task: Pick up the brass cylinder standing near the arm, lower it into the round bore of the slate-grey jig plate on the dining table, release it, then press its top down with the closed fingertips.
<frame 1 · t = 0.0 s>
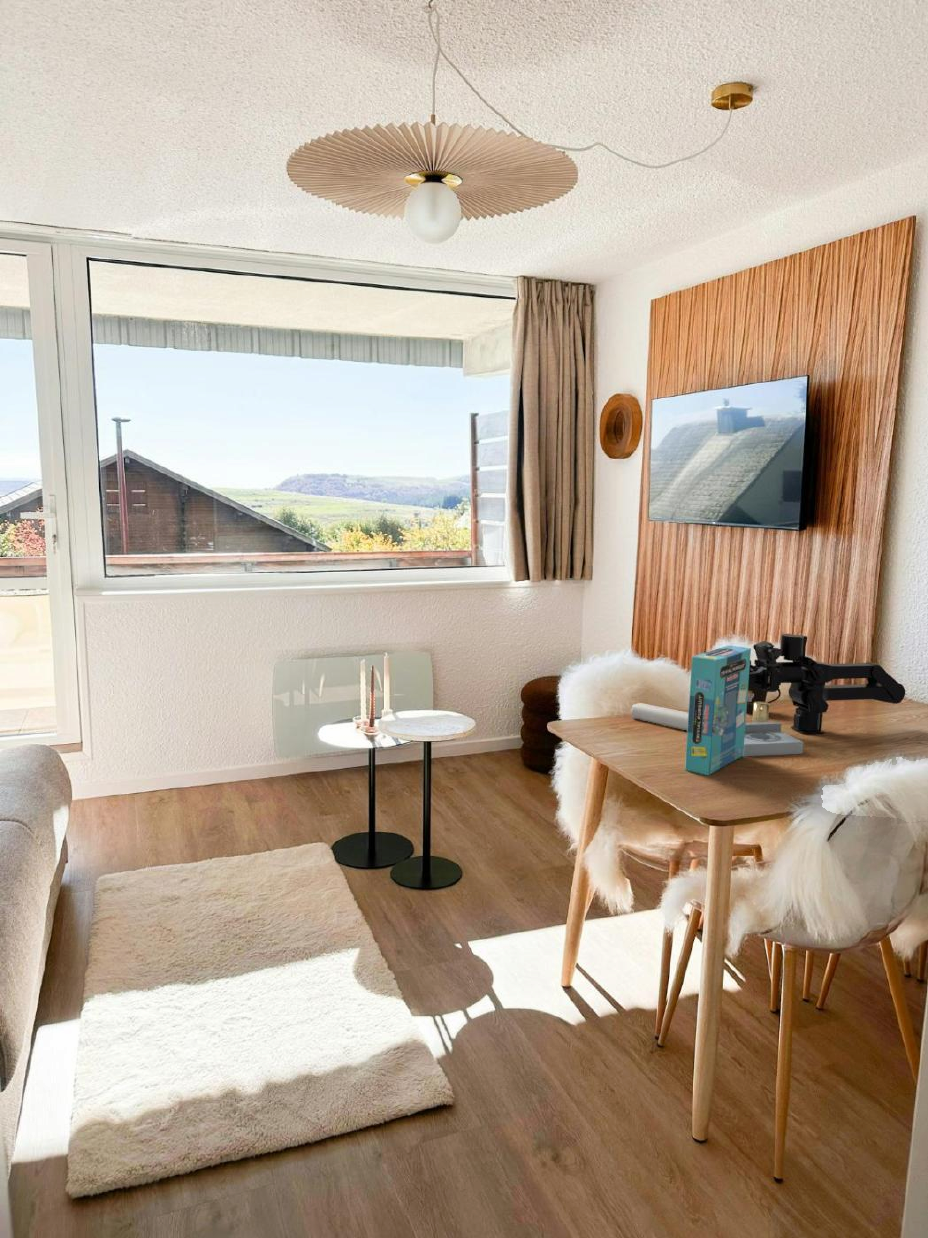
hand: (727, 674, 230), 17 cm above the table, tool horizontal, fingers open, 9 cm apart
jig: (760, 748, 221), on the table
brass cylinder: (759, 732, 236), on the table
tube: (670, 727, 240), on the table
game box: (714, 764, 207), on the table
coffee mug: (755, 713, 256), on the table
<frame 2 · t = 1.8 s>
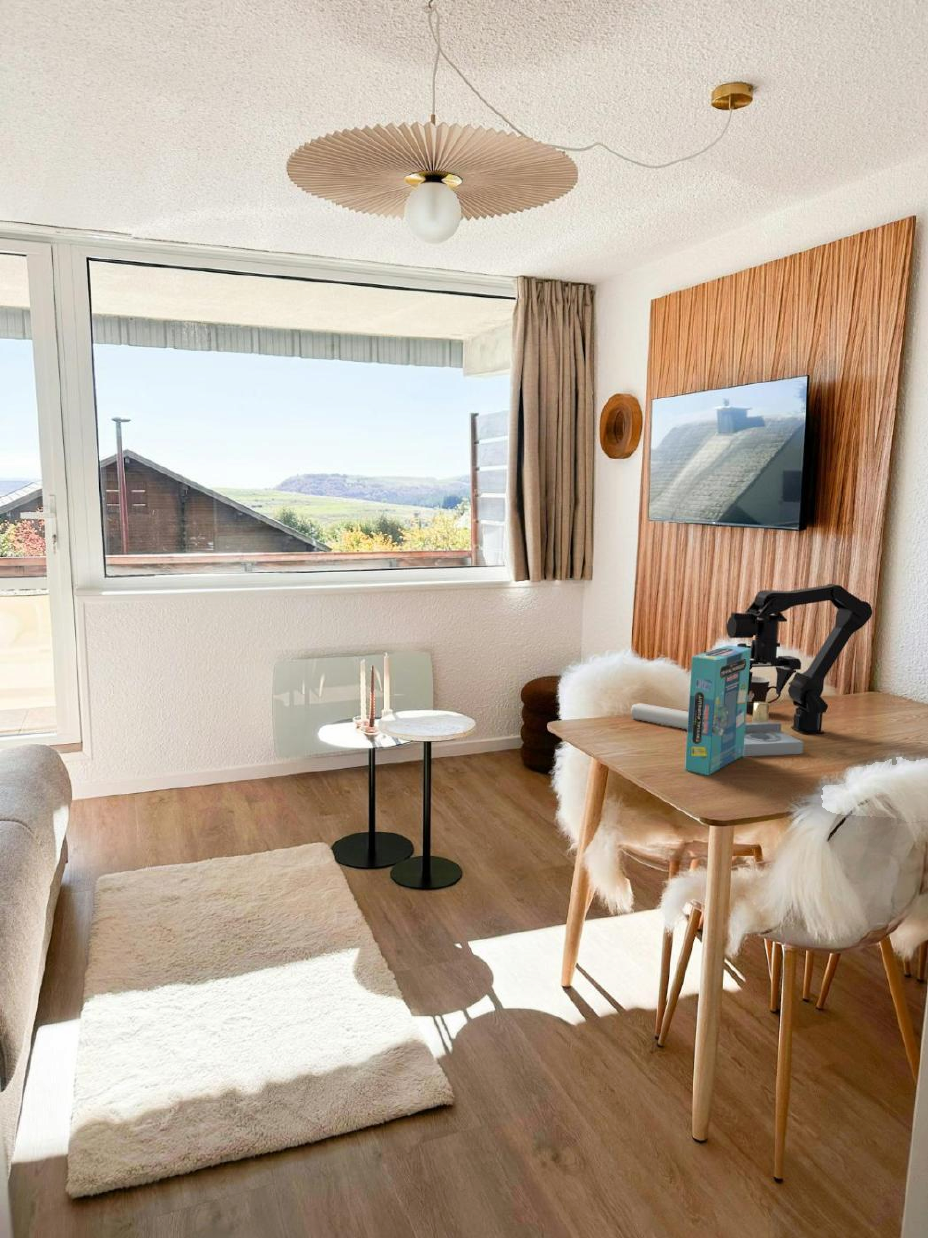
hand: (762, 694, 234), 10 cm above the table, tool pointing down, fingers open, 9 cm apart
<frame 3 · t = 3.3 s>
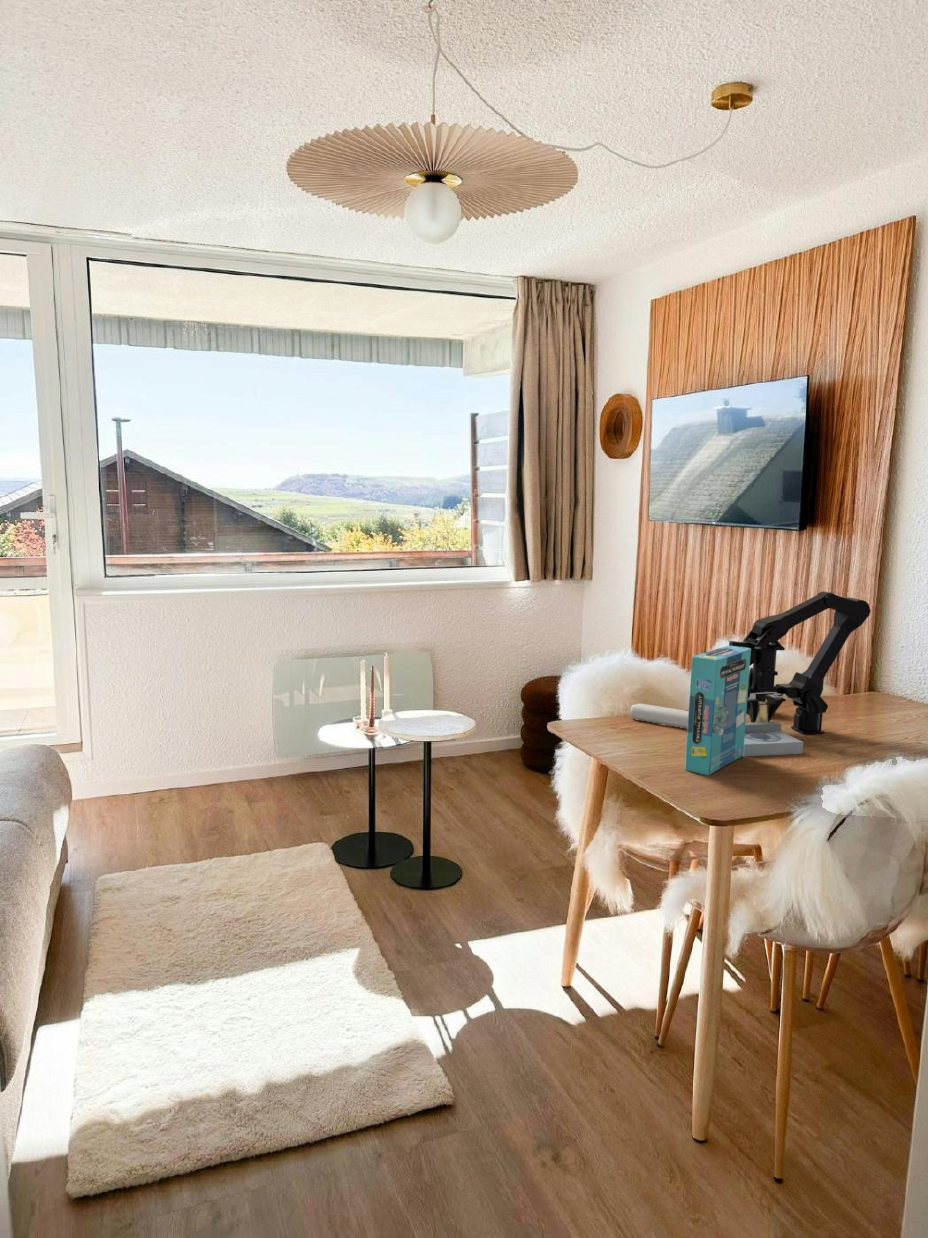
hand: (760, 722, 235), 3 cm above the table, tool pointing down, fingers closed on brass cylinder, 4 cm apart
brass cylinder: (759, 732, 236), on the table, touching gripper
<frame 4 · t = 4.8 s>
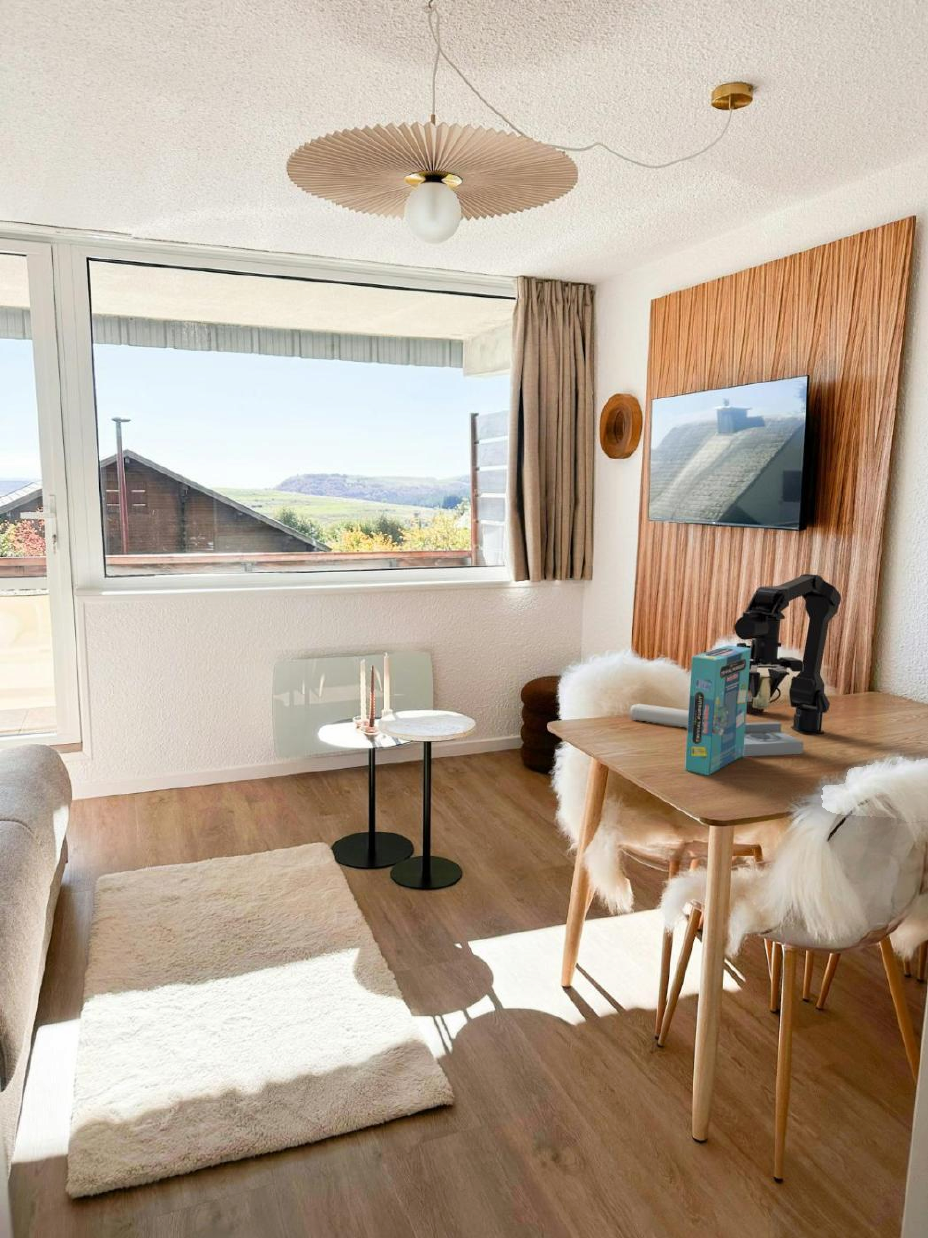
hand: (761, 697, 222), 13 cm above the table, tool pointing down, fingers closed on brass cylinder, 4 cm apart
brass cylinder: (760, 707, 222), point 10 cm above the table, touching gripper
when the fingers open (4 cm above the table, at t = 6.6 s): brass cylinder drops 1 cm, resting in jig.
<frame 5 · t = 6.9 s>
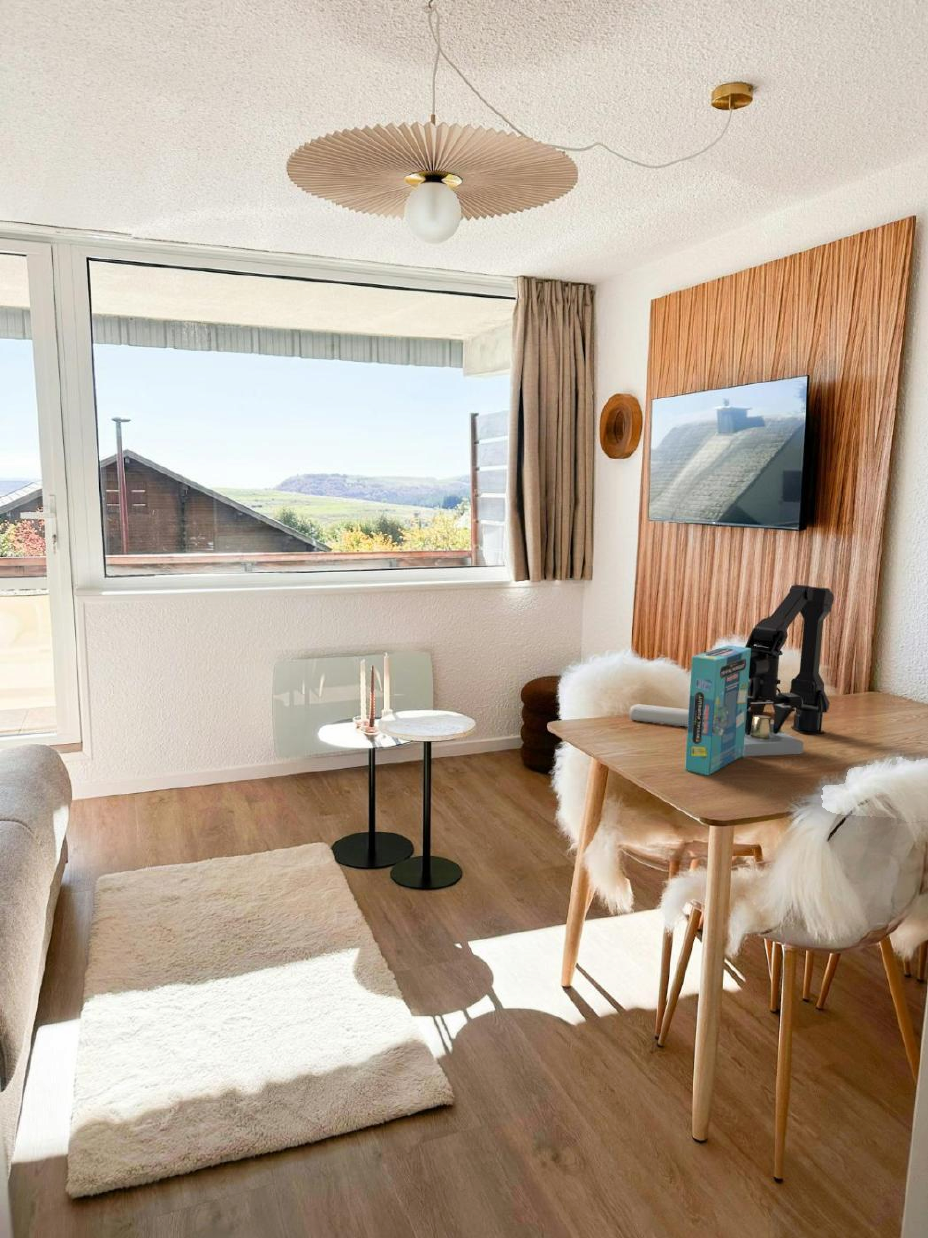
hand: (761, 734, 220), 4 cm above the table, tool pointing down, fingers open, 7 cm apart
brass cylinder: (760, 748, 221), resting in jig
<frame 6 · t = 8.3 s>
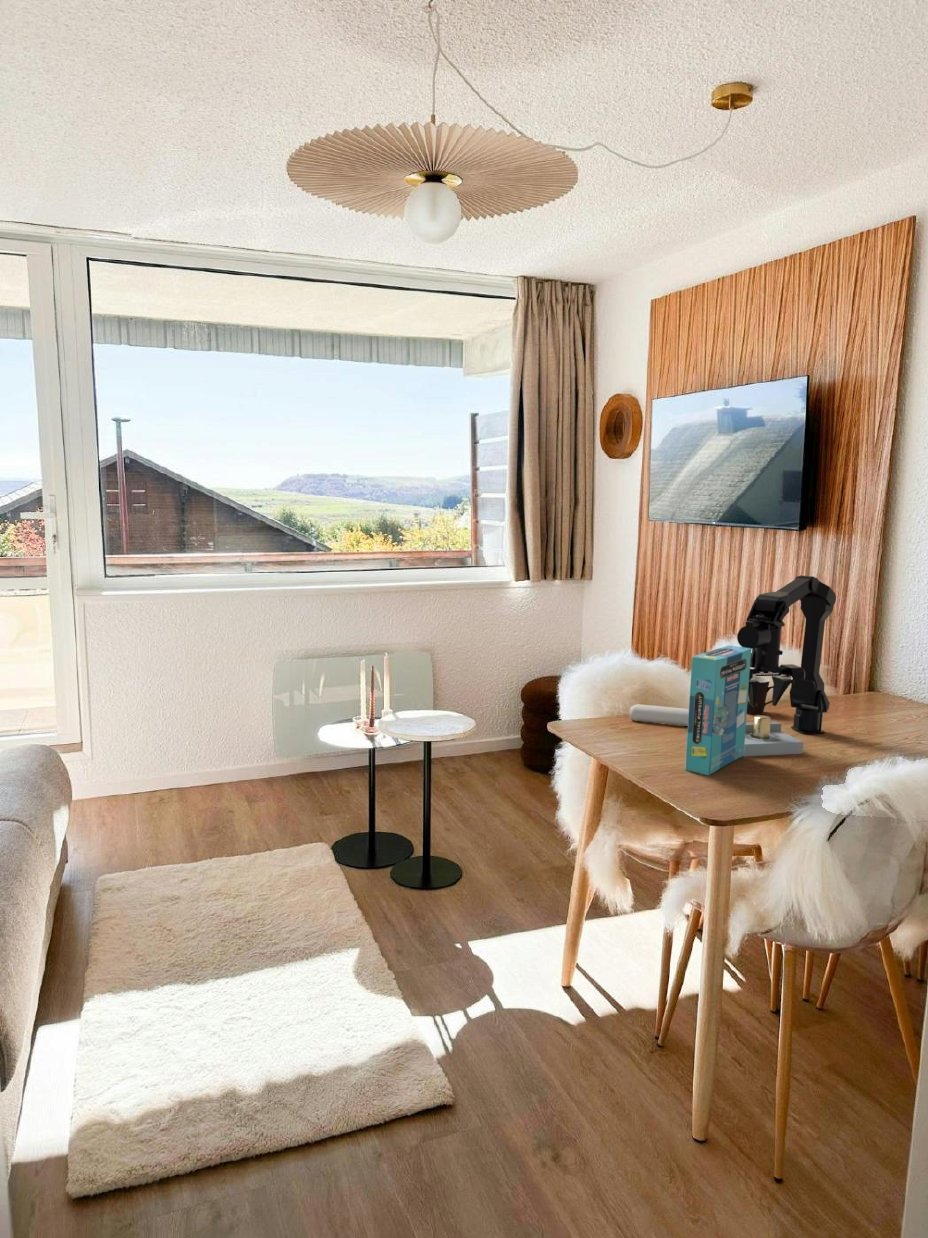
hand: (763, 705, 219), 11 cm above the table, tool pointing down, fingers open, 6 cm apart
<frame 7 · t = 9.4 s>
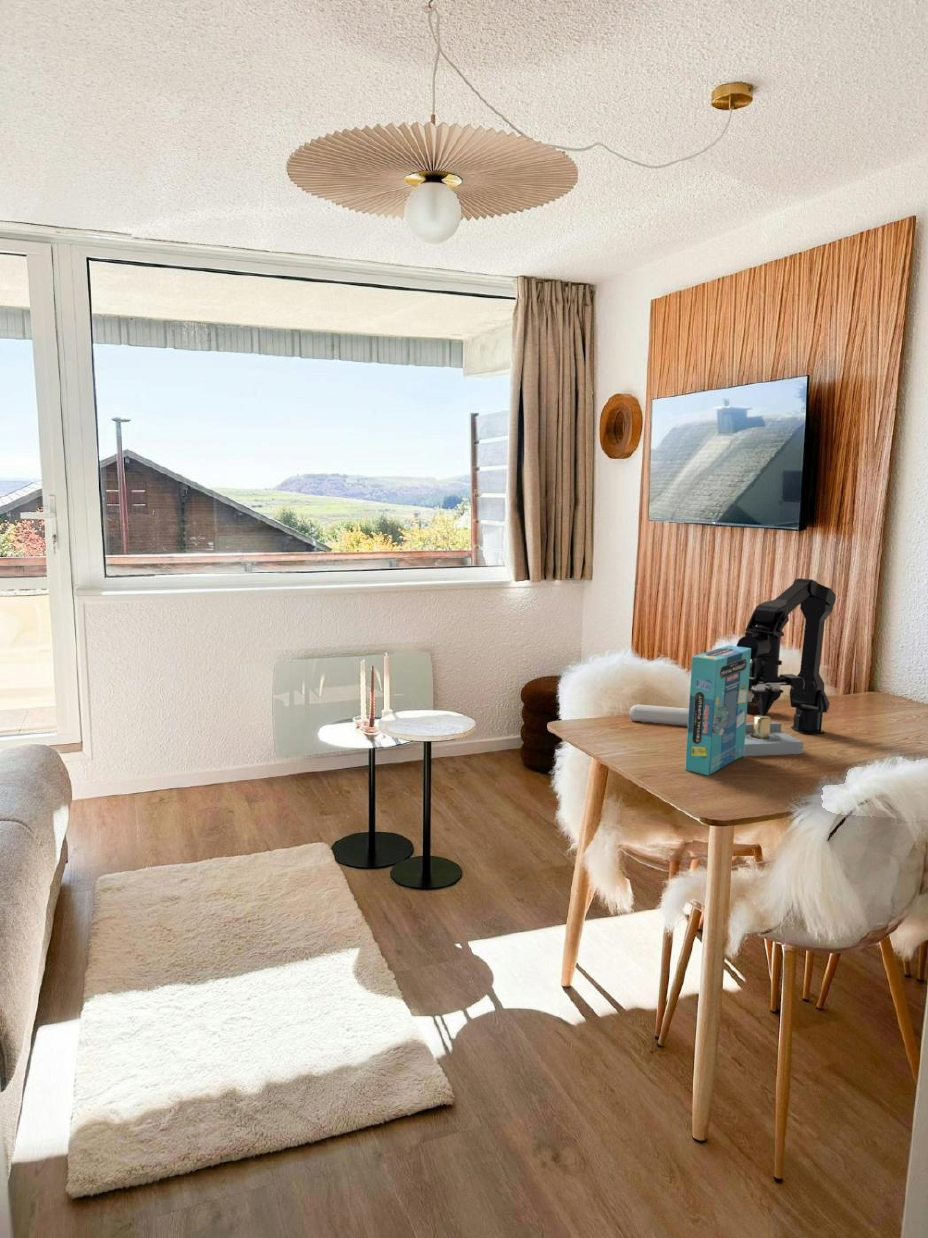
hand: (762, 715, 219), 8 cm above the table, tool pointing down, fingers closed
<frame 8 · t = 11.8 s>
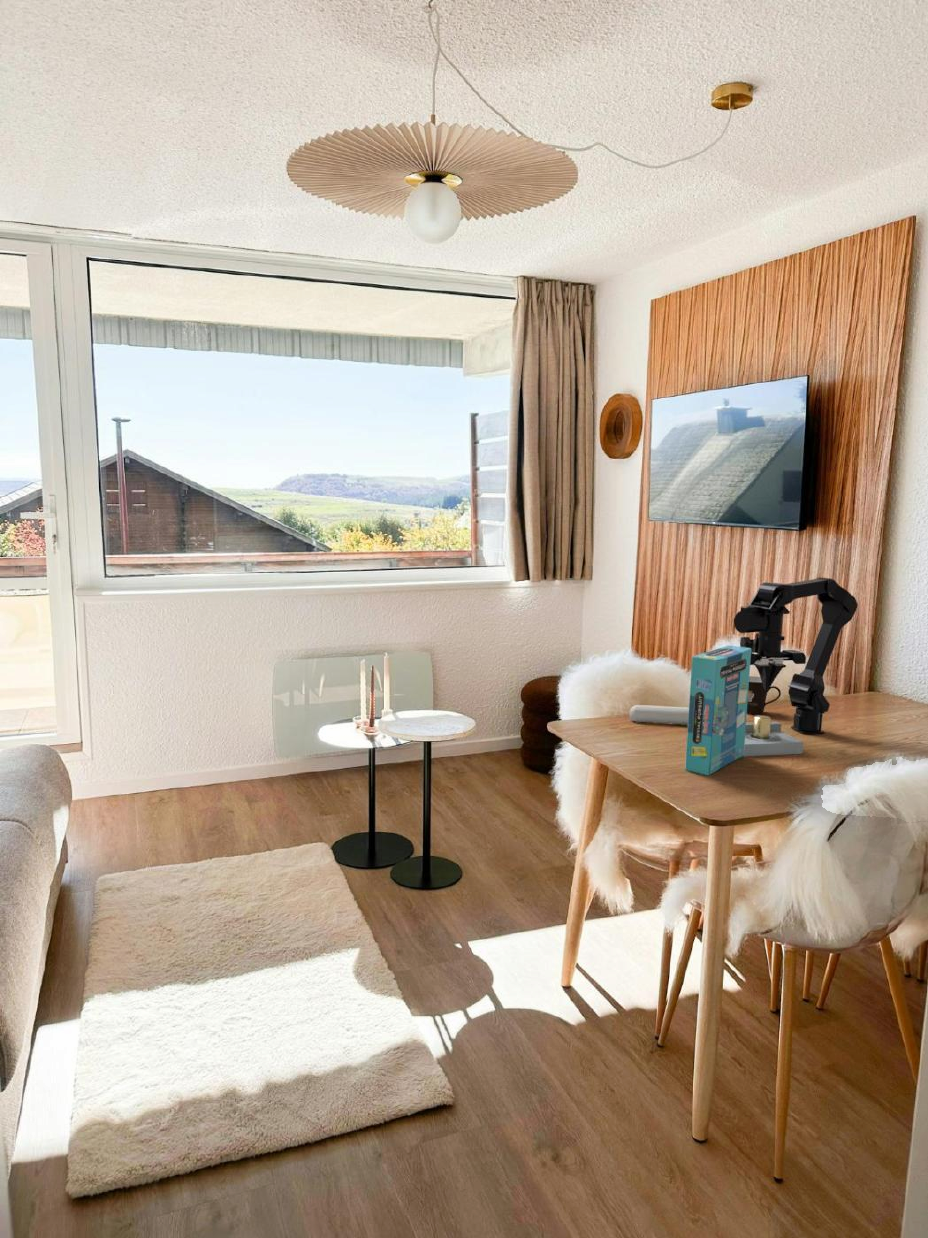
hand: (766, 689, 229), 13 cm above the table, tool pointing down, fingers closed
at the end: brass cylinder 0.1 cm off-centre on the jig, point 0.0 cm above the jig's base; brass cylinder tilted 0°; the gripper is holding nothing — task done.
